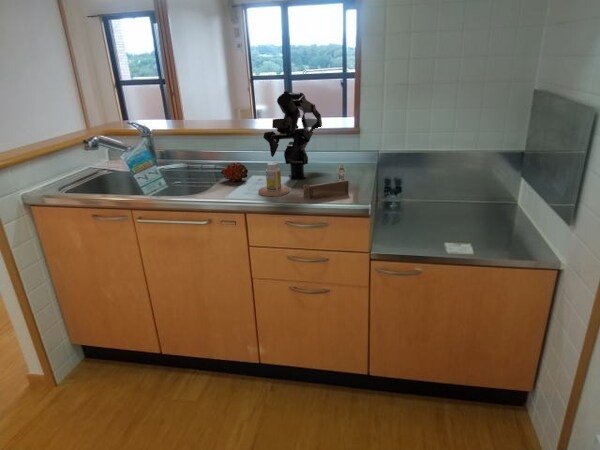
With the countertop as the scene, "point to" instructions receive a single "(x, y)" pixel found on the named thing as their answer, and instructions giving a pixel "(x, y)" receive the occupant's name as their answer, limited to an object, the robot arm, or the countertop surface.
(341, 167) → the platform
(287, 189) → the terracotta saucer
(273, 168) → the supplement bottle
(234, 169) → the red spiky round lump
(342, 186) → the open wooden frame
